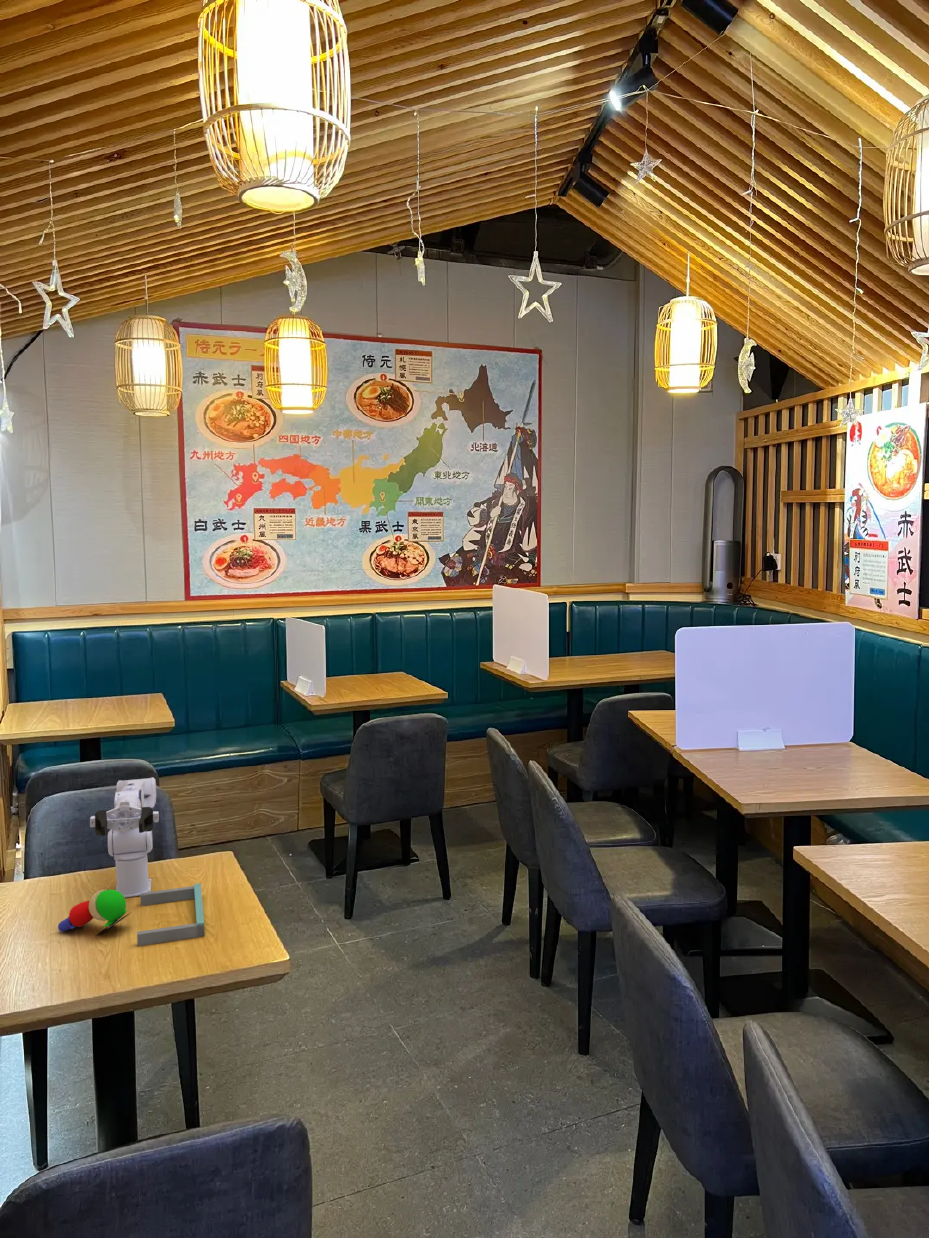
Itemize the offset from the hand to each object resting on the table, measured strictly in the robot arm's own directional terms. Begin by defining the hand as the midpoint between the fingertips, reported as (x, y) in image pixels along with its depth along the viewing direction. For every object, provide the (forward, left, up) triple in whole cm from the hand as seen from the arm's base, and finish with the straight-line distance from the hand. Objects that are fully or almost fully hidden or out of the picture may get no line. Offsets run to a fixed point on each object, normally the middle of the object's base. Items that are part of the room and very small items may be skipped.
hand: (121, 829), depth 197 cm
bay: (+1, +9, -22) cm, 23 cm away
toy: (+1, -7, -22) cm, 23 cm away
